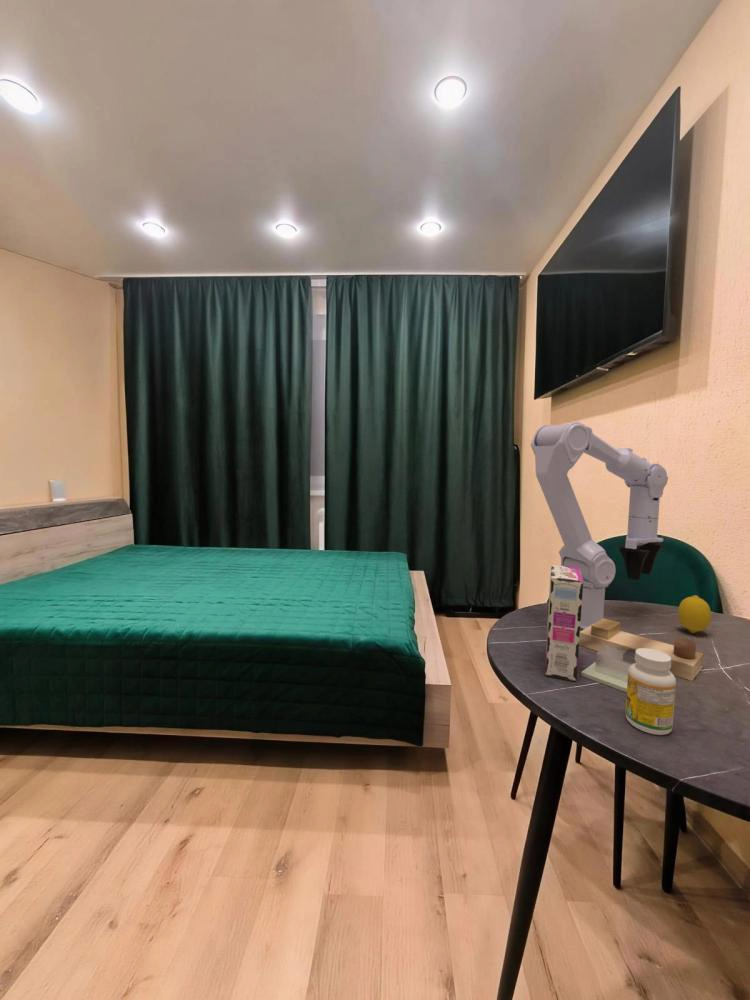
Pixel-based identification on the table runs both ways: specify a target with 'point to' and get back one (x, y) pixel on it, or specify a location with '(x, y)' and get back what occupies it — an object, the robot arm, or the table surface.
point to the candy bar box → (564, 622)
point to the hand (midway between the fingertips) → (639, 576)
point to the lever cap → (614, 662)
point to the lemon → (694, 614)
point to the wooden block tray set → (644, 646)
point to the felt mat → (604, 678)
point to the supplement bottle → (651, 692)
